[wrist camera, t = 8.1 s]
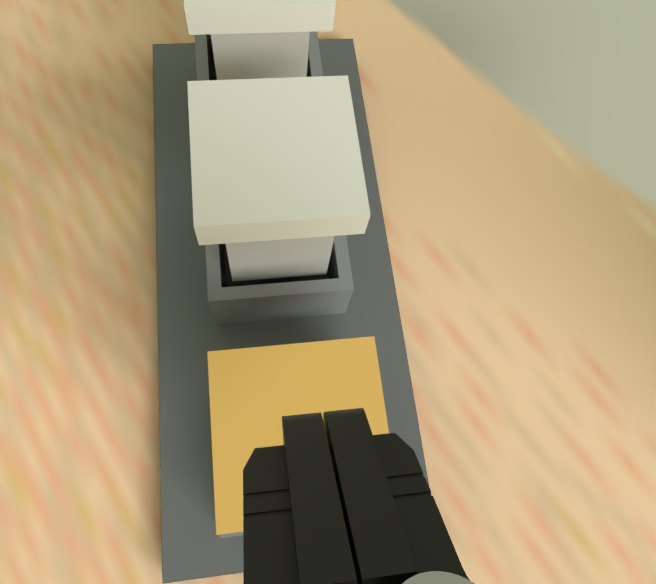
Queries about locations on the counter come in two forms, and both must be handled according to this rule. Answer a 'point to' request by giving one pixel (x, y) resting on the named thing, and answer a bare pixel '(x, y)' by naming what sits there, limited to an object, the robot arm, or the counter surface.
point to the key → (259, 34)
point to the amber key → (281, 403)
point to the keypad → (249, 309)
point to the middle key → (275, 172)
